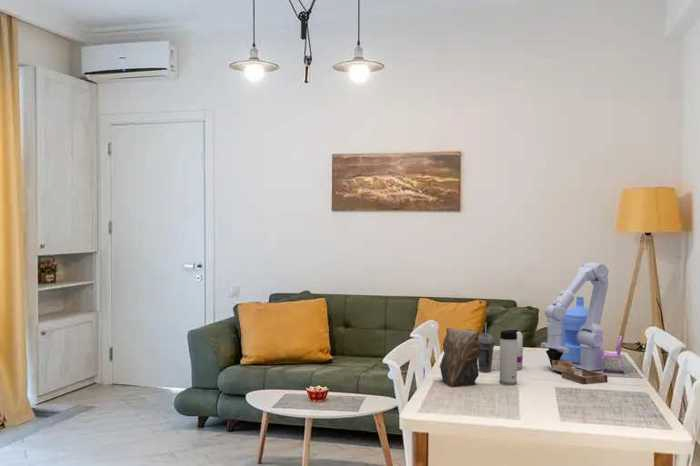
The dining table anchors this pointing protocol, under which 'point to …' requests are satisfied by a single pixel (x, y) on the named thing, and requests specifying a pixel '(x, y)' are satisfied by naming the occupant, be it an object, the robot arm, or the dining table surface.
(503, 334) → the travel mug
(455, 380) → the brown rough lump
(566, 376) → the bay
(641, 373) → the dining table surface
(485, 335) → the beverage cup
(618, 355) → the toy chair
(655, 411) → the dining table surface
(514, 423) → the dining table surface
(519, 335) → the supplement can
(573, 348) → the water jug
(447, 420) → the dining table surface
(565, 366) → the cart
